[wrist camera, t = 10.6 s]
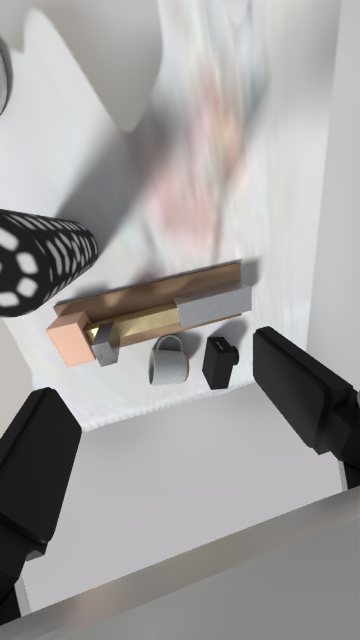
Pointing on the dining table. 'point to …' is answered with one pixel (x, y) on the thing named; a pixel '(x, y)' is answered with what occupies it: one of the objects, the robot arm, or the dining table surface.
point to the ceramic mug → (168, 365)
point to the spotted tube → (39, 259)
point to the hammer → (125, 330)
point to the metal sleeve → (213, 303)
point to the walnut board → (150, 300)
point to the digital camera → (219, 362)
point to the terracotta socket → (71, 338)
